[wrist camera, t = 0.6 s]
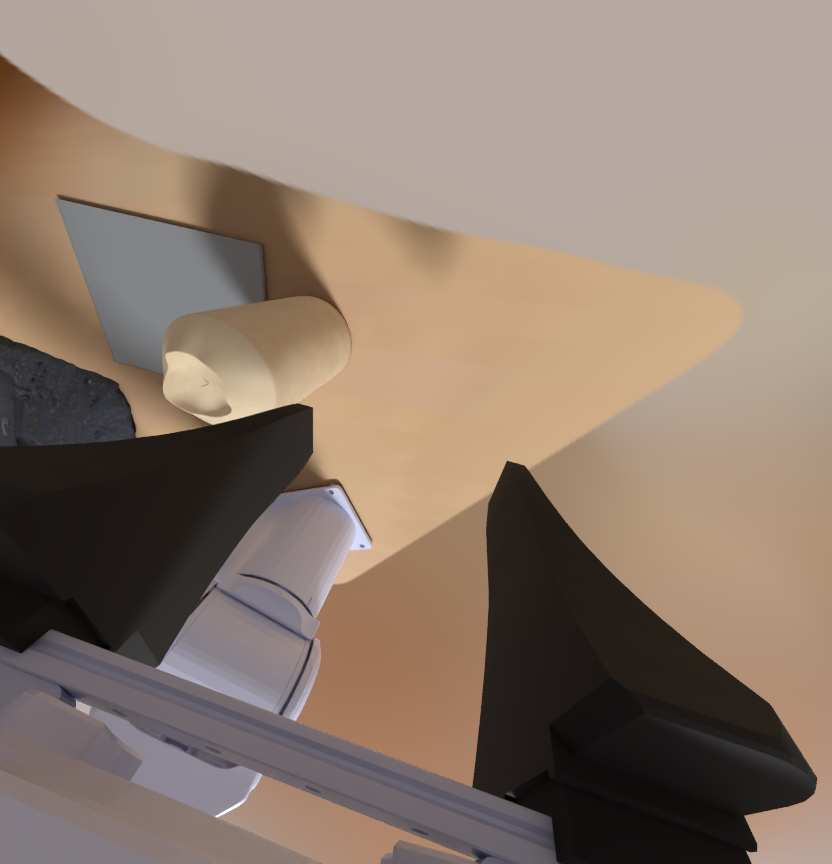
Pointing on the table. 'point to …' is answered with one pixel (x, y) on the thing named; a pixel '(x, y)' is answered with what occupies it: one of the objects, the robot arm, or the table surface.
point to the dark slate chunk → (56, 401)
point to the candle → (252, 356)
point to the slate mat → (156, 276)
